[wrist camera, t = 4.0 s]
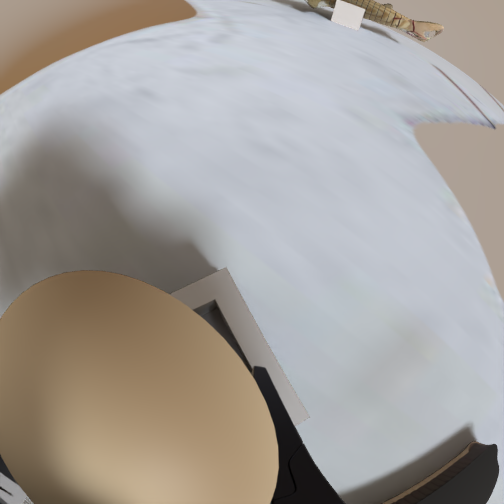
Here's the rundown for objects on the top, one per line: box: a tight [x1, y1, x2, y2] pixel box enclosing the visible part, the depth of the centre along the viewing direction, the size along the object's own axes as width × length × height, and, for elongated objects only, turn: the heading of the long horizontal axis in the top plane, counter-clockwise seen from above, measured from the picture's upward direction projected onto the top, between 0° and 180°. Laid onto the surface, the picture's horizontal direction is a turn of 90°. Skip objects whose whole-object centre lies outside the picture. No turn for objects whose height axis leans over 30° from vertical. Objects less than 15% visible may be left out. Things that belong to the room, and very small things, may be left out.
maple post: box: [0, 270, 279, 504], centre depth 8 cm, size 5×5×12 cm
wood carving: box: [305, 0, 444, 42], centre depth 34 cm, size 9×35×11 cm, turn 66°
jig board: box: [169, 267, 310, 426], centre depth 12 cm, size 18×9×4 cm, turn 118°
